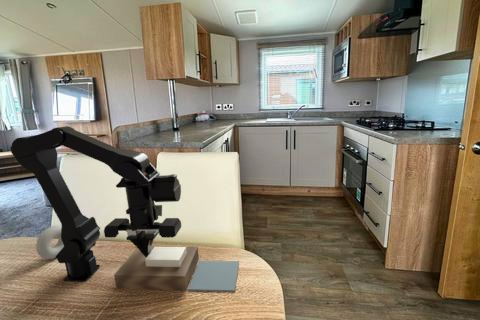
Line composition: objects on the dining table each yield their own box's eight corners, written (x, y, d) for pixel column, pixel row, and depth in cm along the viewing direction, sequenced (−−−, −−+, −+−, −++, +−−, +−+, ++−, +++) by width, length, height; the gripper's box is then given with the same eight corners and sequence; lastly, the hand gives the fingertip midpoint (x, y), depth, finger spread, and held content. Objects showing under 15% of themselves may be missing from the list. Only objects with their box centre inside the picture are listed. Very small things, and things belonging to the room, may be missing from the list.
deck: (116, 288, 65) (113, 275, 64) (140, 258, 77) (138, 246, 76) (186, 290, 63) (184, 276, 62) (198, 258, 76) (197, 246, 75)
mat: (188, 290, 63) (188, 289, 63) (199, 261, 74) (199, 260, 74) (234, 291, 62) (234, 290, 62) (238, 262, 73) (238, 261, 73)
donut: (45, 266, 75) (37, 235, 73) (37, 265, 76) (29, 234, 74) (76, 248, 84) (70, 220, 82) (68, 246, 85) (62, 219, 83)
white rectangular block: (146, 266, 67) (145, 259, 66) (155, 253, 72) (154, 246, 72) (179, 267, 66) (179, 260, 65) (186, 253, 72) (186, 247, 71)
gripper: (184, 190, 73) (189, 240, 76) (121, 191, 75) (129, 240, 78) (171, 206, 62) (177, 263, 66) (98, 207, 64) (108, 262, 67)
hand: (147, 256), depth 69 cm, fingers closed
